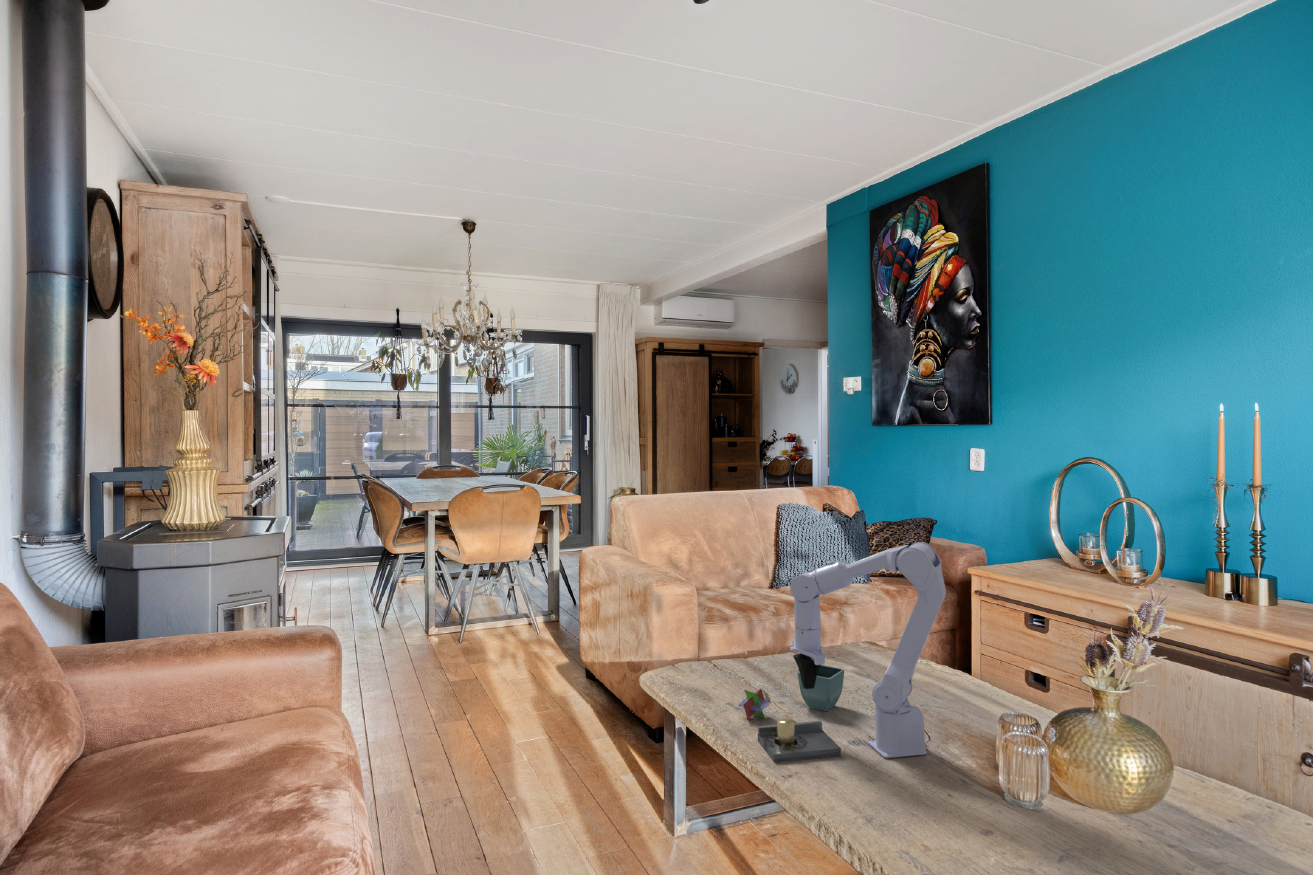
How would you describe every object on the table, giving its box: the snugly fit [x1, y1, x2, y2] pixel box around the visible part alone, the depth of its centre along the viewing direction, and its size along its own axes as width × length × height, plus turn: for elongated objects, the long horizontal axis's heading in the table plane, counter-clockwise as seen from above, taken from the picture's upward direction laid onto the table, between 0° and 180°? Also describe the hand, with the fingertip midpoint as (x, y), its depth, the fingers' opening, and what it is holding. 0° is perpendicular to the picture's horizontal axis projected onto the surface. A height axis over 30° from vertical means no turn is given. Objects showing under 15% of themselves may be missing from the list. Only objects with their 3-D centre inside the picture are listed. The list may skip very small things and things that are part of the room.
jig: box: [757, 720, 842, 763], centre depth 159 cm, size 14×11×3 cm
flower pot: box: [797, 664, 845, 712], centre depth 183 cm, size 9×9×9 cm
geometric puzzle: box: [738, 688, 772, 720], centre depth 177 cm, size 7×7×8 cm
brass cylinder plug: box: [776, 717, 795, 747], centre depth 158 cm, size 4×4×6 cm
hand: (808, 687), depth 167 cm, fingers closed
